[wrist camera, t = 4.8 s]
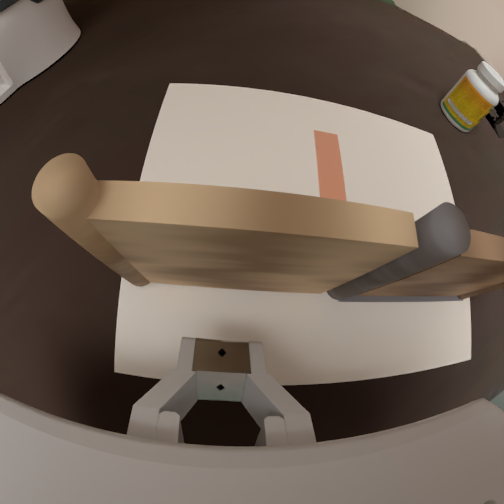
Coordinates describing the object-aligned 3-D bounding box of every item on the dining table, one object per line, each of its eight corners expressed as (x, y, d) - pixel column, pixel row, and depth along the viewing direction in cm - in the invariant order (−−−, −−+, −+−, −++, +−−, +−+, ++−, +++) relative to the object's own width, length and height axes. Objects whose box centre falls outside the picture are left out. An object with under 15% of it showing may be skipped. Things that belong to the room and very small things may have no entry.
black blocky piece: (512, 147, 30) (528, 134, 25) (500, 147, 28) (517, 133, 24) (474, 90, 33) (487, 76, 28) (457, 86, 31) (471, 69, 27)
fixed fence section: (325, 299, 17) (441, 251, 7) (324, 270, 17) (431, 197, 8) (467, 299, 18) (563, 268, 9) (465, 278, 19) (558, 241, 9)
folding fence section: (123, 284, 15) (23, 212, 6) (127, 254, 16) (44, 154, 6) (320, 298, 16) (439, 247, 7) (320, 269, 17) (428, 191, 7)
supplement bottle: (439, 95, 27) (475, 51, 18) (467, 120, 27) (506, 80, 18) (438, 114, 26) (481, 65, 16) (469, 141, 25) (514, 98, 16)
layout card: (116, 371, 14) (113, 371, 14) (170, 86, 21) (169, 83, 20) (467, 359, 17) (471, 359, 17) (431, 136, 24) (433, 134, 23)
